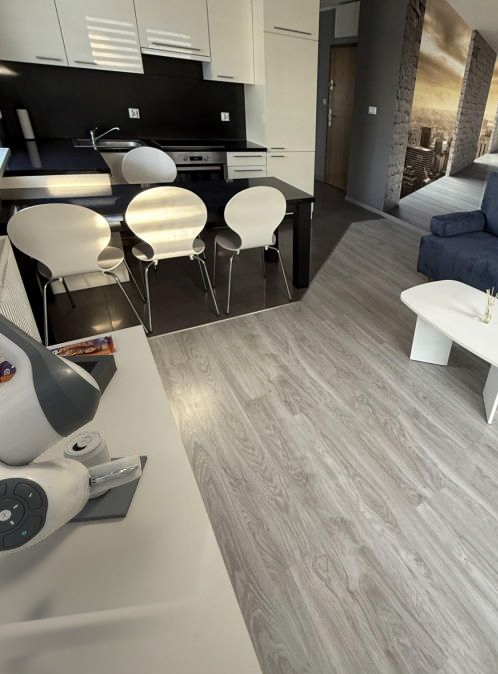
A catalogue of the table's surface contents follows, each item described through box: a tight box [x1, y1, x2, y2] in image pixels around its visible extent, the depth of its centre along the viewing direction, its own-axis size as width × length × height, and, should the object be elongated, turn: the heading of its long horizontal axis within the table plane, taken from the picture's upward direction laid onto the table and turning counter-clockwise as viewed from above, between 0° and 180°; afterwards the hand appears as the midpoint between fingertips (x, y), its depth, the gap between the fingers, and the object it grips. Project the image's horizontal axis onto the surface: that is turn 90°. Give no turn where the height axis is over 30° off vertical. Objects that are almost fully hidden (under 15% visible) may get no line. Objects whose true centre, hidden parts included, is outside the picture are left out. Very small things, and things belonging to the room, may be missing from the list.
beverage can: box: [63, 430, 112, 499], centre depth 74 cm, size 6×6×12 cm
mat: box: [67, 455, 148, 523], centre depth 77 cm, size 14×13×1 cm
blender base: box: [60, 354, 118, 397], centre depth 100 cm, size 13×14×5 cm
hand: (76, 482), depth 66 cm, fingers open, 8 cm apart
